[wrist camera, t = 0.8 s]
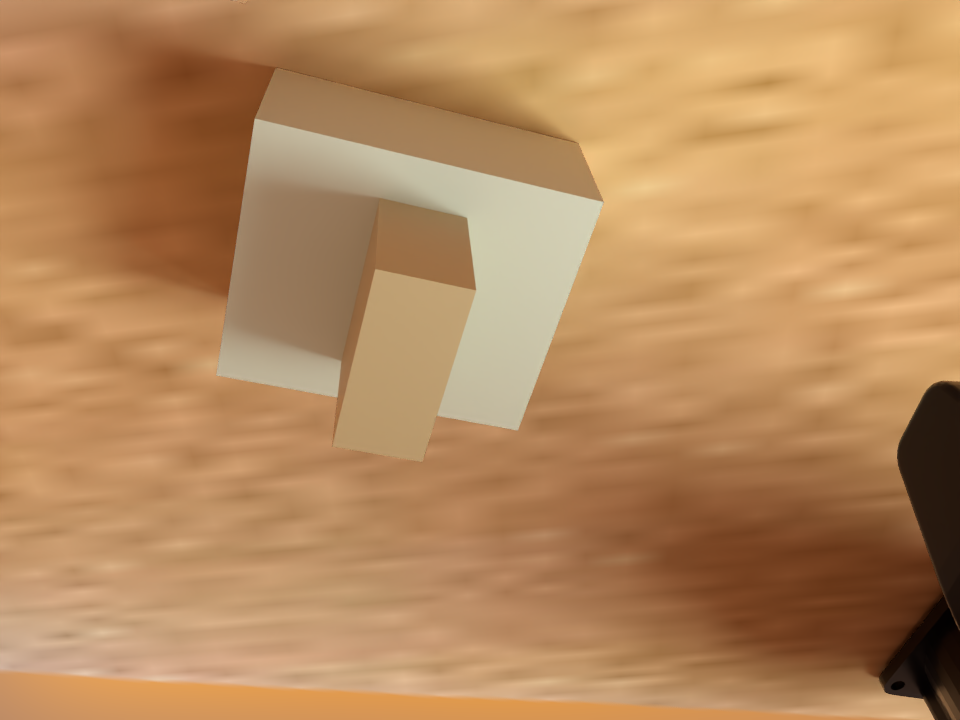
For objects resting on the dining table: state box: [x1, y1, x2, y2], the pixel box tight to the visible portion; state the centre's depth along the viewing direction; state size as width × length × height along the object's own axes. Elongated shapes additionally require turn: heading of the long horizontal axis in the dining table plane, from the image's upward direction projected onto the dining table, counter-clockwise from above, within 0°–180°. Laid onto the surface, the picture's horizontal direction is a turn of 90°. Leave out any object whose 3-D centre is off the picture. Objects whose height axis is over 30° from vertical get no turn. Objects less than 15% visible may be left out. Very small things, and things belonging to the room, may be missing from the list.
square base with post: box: [216, 68, 604, 462], centre depth 20 cm, size 6×7×6 cm
